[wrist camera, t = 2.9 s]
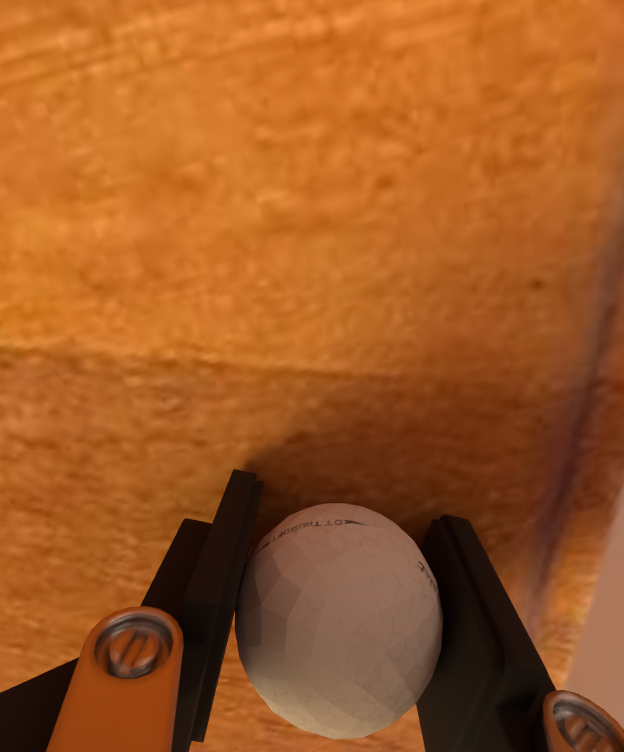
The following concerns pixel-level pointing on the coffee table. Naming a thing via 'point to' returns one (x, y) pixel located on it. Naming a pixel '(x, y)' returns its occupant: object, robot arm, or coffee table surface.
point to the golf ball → (338, 621)
